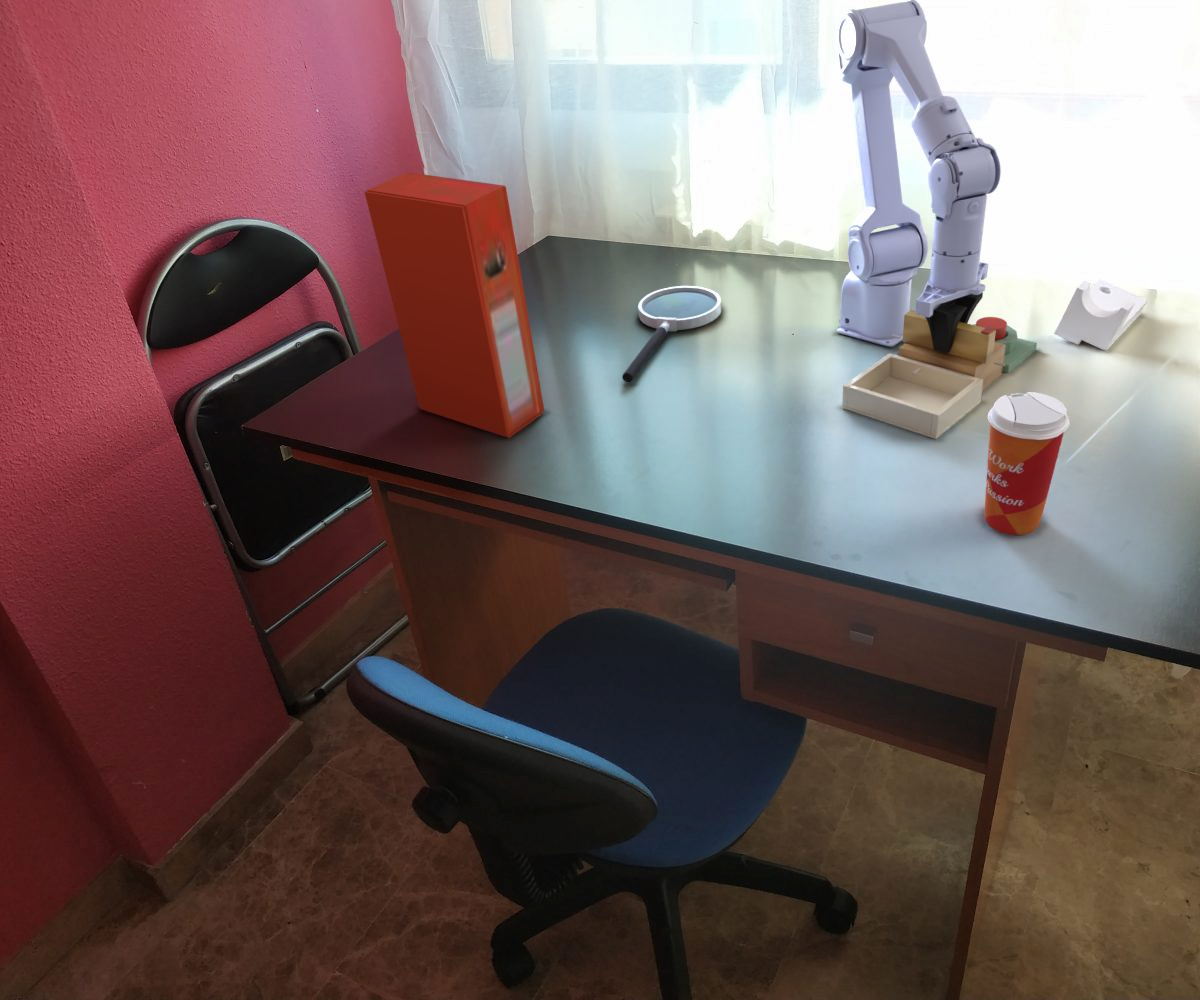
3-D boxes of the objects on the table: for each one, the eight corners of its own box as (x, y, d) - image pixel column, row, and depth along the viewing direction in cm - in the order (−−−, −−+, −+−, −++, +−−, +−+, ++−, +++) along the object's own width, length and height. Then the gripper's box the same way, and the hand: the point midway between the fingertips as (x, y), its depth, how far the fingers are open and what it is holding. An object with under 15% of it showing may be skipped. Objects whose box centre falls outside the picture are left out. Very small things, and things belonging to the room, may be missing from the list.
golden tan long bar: (902, 341, 134) (904, 312, 131) (909, 336, 135) (911, 307, 132) (985, 364, 126) (989, 333, 124) (992, 358, 127) (996, 328, 125)
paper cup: (963, 504, 110) (976, 394, 102) (1030, 495, 110) (1049, 384, 102) (992, 546, 104) (1009, 433, 96) (1064, 536, 104) (1087, 422, 96)
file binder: (506, 439, 133) (461, 206, 114) (418, 410, 142) (364, 190, 124) (544, 412, 138) (507, 184, 119) (457, 386, 147) (410, 171, 129)
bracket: (1102, 356, 135) (1128, 310, 130) (1054, 333, 138) (1077, 287, 133) (1136, 320, 143) (1161, 275, 137) (1089, 299, 146) (1112, 254, 140)
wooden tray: (842, 408, 130) (842, 385, 128) (887, 375, 136) (889, 352, 134) (936, 439, 121) (938, 415, 119) (980, 402, 127) (983, 379, 125)
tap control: (940, 354, 139) (942, 335, 137) (968, 333, 143) (970, 314, 141) (1008, 373, 133) (1011, 353, 131) (1035, 350, 137) (1039, 330, 135)
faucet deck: (857, 388, 134) (858, 357, 131) (920, 343, 142) (923, 313, 140) (968, 423, 124) (972, 390, 121) (1029, 372, 132) (1034, 340, 130)
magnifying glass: (585, 380, 144) (584, 367, 143) (654, 294, 167) (653, 283, 166) (672, 388, 139) (671, 375, 138) (730, 298, 162) (730, 287, 161)
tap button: (969, 337, 137) (970, 324, 135) (983, 327, 139) (985, 314, 138) (996, 344, 134) (998, 331, 133) (1010, 333, 136) (1012, 320, 135)
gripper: (956, 274, 116) (946, 376, 124) (1015, 234, 124) (1002, 333, 131) (903, 262, 120) (896, 362, 128) (963, 225, 128) (953, 321, 136)
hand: (946, 346), depth 130 cm, fingers closed on golden tan long bar, 2 cm apart
